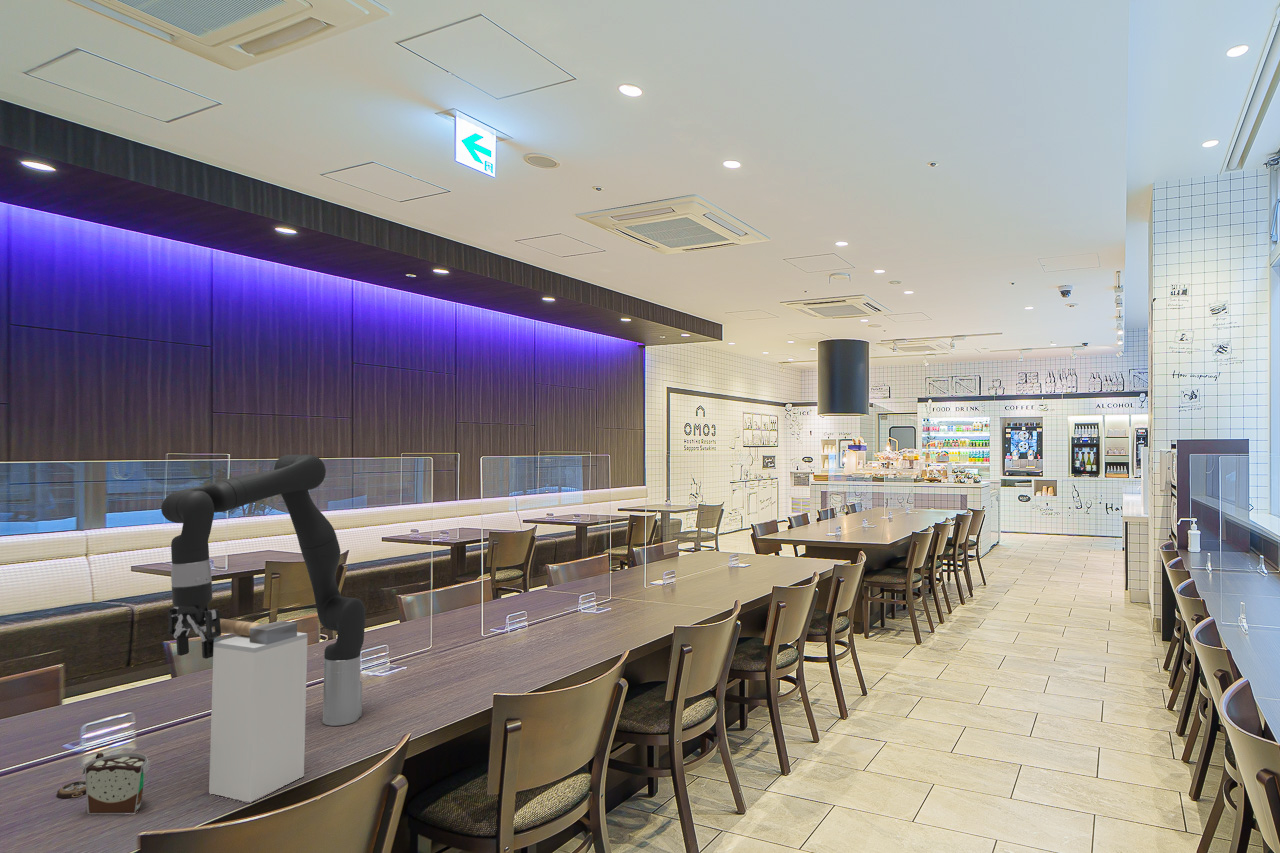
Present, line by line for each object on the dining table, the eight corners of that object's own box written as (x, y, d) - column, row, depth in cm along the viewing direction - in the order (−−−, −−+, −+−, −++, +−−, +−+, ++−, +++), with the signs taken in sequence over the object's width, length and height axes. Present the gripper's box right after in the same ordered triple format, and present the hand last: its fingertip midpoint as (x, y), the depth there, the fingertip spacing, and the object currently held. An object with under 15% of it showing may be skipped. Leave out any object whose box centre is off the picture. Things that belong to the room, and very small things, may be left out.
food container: (161, 800, 155) (163, 751, 155) (142, 814, 149) (144, 763, 149) (101, 800, 155) (103, 751, 155) (80, 814, 148) (82, 764, 149)
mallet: (197, 635, 165) (197, 621, 165) (228, 627, 173) (229, 614, 173) (266, 644, 157) (267, 630, 158) (296, 636, 165) (297, 622, 165)
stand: (264, 768, 171) (268, 628, 172) (303, 777, 166) (307, 633, 168) (208, 794, 158) (213, 642, 159) (250, 804, 153) (254, 648, 155)
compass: (55, 792, 158) (56, 757, 159) (100, 781, 164) (101, 747, 164) (58, 805, 152) (59, 769, 153) (105, 793, 158) (106, 759, 158)
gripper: (229, 579, 162) (233, 653, 162) (187, 577, 169) (191, 648, 168) (196, 587, 156) (200, 664, 156) (154, 584, 162) (157, 658, 162)
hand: (195, 656), depth 162 cm, fingers open, 8 cm apart
